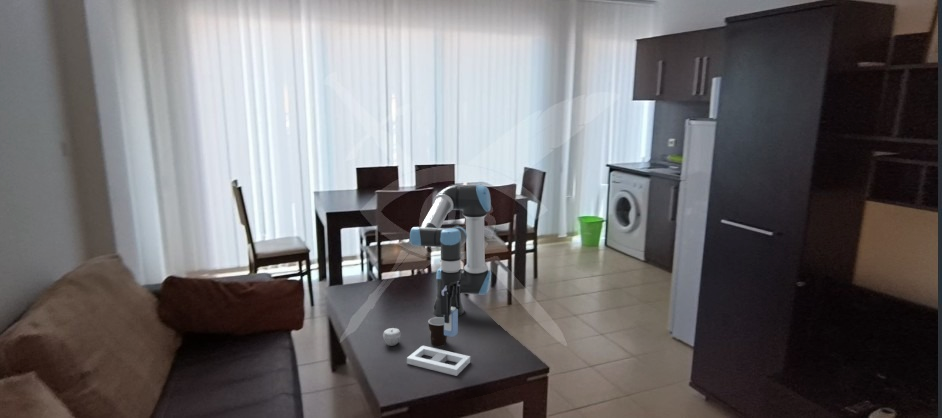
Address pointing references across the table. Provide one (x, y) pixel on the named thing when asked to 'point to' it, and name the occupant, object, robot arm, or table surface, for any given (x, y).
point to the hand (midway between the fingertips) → (450, 327)
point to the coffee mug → (437, 331)
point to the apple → (392, 336)
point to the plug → (453, 323)
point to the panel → (438, 360)
